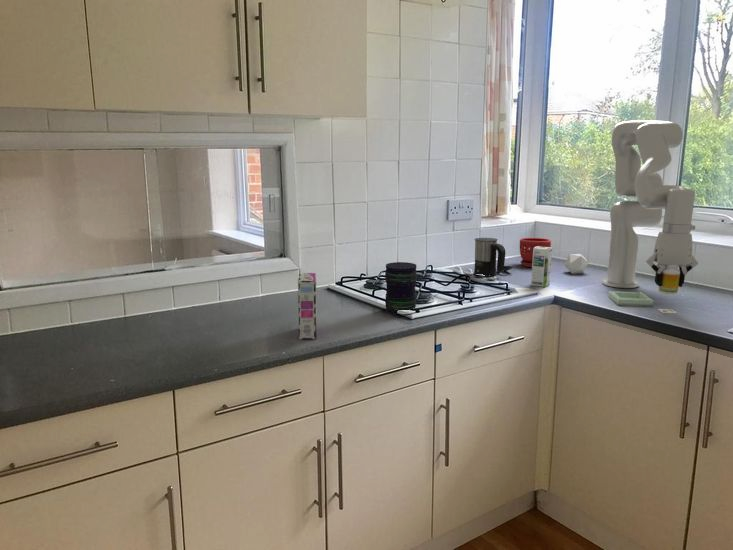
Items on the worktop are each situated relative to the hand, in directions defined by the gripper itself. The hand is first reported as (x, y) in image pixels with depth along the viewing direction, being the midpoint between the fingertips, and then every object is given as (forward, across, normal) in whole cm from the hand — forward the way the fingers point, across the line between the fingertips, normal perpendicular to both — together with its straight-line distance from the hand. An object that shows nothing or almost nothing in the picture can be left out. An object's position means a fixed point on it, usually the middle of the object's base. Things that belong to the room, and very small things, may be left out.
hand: (668, 284), depth 181 cm
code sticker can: (+8, 0, +1) cm, 8 cm away
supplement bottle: (+3, 0, 0) cm, 3 cm away
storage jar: (+9, +84, +11) cm, 85 cm away
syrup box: (+10, +34, -31) cm, 47 cm away
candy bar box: (+8, +108, +37) cm, 114 cm away
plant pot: (+11, +31, -68) cm, 75 cm away
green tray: (+9, +8, -10) cm, 15 cm away
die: (+11, +16, -55) cm, 58 cm away
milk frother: (+11, +50, -49) cm, 71 cm away
